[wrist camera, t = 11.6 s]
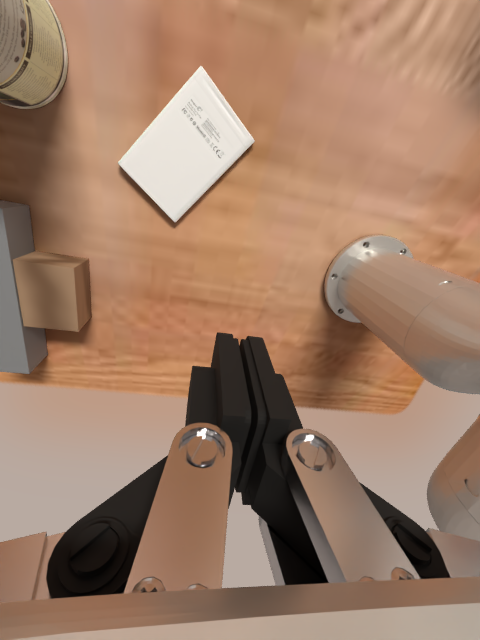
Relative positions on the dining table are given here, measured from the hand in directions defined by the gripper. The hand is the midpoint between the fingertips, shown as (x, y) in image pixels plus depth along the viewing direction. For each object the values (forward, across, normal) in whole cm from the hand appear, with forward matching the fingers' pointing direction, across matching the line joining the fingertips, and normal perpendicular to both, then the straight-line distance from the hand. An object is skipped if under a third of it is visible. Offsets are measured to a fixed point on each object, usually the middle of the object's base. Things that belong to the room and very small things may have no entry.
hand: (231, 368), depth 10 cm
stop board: (+27, +23, +10) cm, 37 cm away
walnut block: (+27, +18, +9) cm, 34 cm away
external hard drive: (+28, +4, -8) cm, 29 cm away
